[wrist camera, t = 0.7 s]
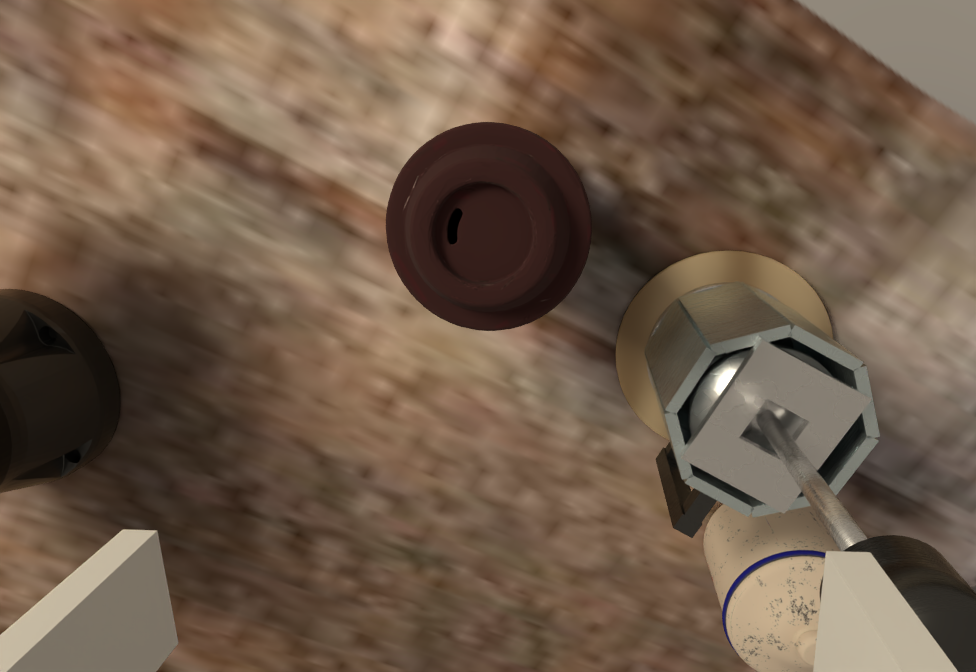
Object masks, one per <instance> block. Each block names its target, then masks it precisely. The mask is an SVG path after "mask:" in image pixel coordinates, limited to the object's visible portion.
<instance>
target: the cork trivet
mask: <svg viewBox="0 0 976 672" xmlns="http://www.w3.org/2000/svg"><path fill="white" fill-rule="evenodd" d="M736 281H739V282H740V283H741V282H744V283H746V284H748V285H750V286H754V287H757V288H759V289H761V290H763V291H765V292H767V293H769V294H770V295H772V296H773V297H775V298H776V299H777V300H779V301H780V302H781V303H783V304H784V305H786V306H788V307H790V308H792V309H794V310H795V311H796V312H798V313H799V314H800V315H802V316H803V317H804V318H806V319H807V320H808V321H810V322H811V323H812V324H814V325H815V326H816V327H818V328H819V329H820V330H822V331H823V332H824V333H826V334H827V335H828V336H830V337H831V338H832V339H833V334H832V328H831V324H830V320H829V317H828V314H827V312H826V310H825V307H824V305H823V303H822V302H821V300H820V298H819V297H818V295H817V294H816V292H815V291H814V290H813V289H812V287H811V286H810V285H809V284H808V283H807V282H806V281H805V280H804V279H803V278H802V277H801V276H799V275H798V274H797V273H796V272H794V271H793V270H791V269H790V268H788V267H787V266H785V265H783V264H781V263H779V262H777V261H775V260H773V259H771V258H769V257H766V256H762V255H759V254H756V253H751V252H746V251H736V250H721V251H711V252H706V253H701V254H697V255H694V256H691V257H688V258H685V259H682V260H680V261H678V262H676V263H674V264H672V265H670V266H669V267H667V268H665V269H664V270H662V271H661V272H659V273H658V274H657V275H656V276H654V277H653V278H652V279H651V280H649V281H648V282H647V283H646V284H645V286H644V287H643V288H642V289H641V290H640V291H639V292H638V293H637V295H636V296H635V298H634V299H633V300H632V302H631V303H630V305H629V307H628V309H627V311H626V312H625V314H624V317H623V319H622V322H621V325H620V327H619V332H618V336H617V341H616V352H615V353H616V367H617V373H618V378H619V382H620V385H621V388H622V391H623V393H624V395H625V397H626V399H627V401H628V403H629V405H630V406H631V408H632V409H633V410H634V412H635V413H636V415H637V416H638V417H639V418H640V419H641V420H642V421H643V422H644V423H645V424H646V425H647V426H648V427H649V428H651V429H652V430H653V431H654V432H656V433H657V434H659V435H660V436H662V437H663V438H665V439H667V440H669V437H668V434H667V431H666V428H665V425H664V421H663V418H662V415H661V412H660V409H659V406H658V402H657V399H656V395H655V391H654V389H653V387H652V384H651V382H650V379H649V376H648V371H647V366H646V358H645V354H644V352H645V349H644V348H645V346H646V345H647V343H648V339H649V336H650V333H651V331H652V328H653V327H654V325H655V323H656V321H657V319H658V318H659V317H660V315H661V314H662V313H663V311H664V310H665V309H666V308H667V307H668V306H669V305H670V304H671V303H673V302H674V300H676V299H677V298H678V297H681V296H682V295H684V294H685V293H687V292H689V291H691V290H693V289H695V288H698V287H701V286H704V285H708V284H713V283H722V282H736ZM669 441H670V440H669Z"/></svg>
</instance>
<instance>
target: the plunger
mask: <svg viewBox="0 0 976 672" xmlns="http://www.w3.org/2000/svg"><path fill="white" fill-rule="evenodd" d="M774 345H776V346H777V347H779V348H781V349H783V350H785V351H787V352H789V353H790V354H792V355H794V356H796V357H798V358H800V359H801V360H803V361H805V362H807V363H809V364H811V365H813V366H814V367H816V368H818V369H820V370H822V371H824V372H825V373H827V374H829V375H831V374H830V373H829V372H828V371H827V370H826V369H825V368H824V367H823V366H822V365H821V364H820V363H819V362H817V361H816V360H815V359H814V358H812V357H811V356H809V355H808V354H806V353H804V352H802V351H800V350H798V349H795V348H792V347H789V346H784V345H779V344H774ZM752 347H753V346H751V347H747V348H743V349H739V350H735V351H732V352H730V353H728V354H726V355H724V356H723V357H721V358H719V359H718V360H717V361H716V362H714V363H713V364H712V365H711V366H710V367H709V368H708V369H707V370H706V371H705V372H704V373H703V375H702V376H701V378H700V379H699V381H698V382H697V384H696V385H695V387H694V389H693V392H692V394H691V397H690V401H689V406H688V424H689V429H690V432H691V435H693V433H694V432H695V431H696V429H697V428H698V426H699V425H700V423H701V422H702V420H703V419H704V417H705V416H706V414H707V413H708V412H709V410H710V409H711V407H712V406H713V404H714V403H715V401H716V400H717V398H718V397H719V395H720V394H721V393H722V391H723V390H724V388H725V387H726V385H727V384H728V382H729V381H730V379H731V378H732V376H733V375H734V374H735V372H736V371H737V369H738V368H739V366H740V365H741V363H742V362H743V360H744V359H745V357H746V356H747V355H748V353H749V352H750V350H751V349H752ZM831 376H832V375H831ZM803 420H804V419H803V418H802V417H800V416H798V415H796V414H794V413H792V412H790V411H789V410H787V409H785V408H783V407H781V406H779V405H777V404H776V403H774V402H772V401H770V400H768V399H766V400H765V402H764V403H763V405H762V406H761V408H760V409H759V410H758V412H757V413H756V415H755V416H754V417H753V419H752V420H751V422H750V423H749V424H748V426H747V427H746V429H745V430H744V431H743V433H742V434H741V436H743V437H745V438H747V439H748V440H750V441H752V442H754V443H756V444H758V445H760V446H761V447H763V448H765V449H767V450H769V451H771V452H773V453H774V454H776V455H778V456H779V458H780V459H781V461H782V462H783V464H784V465H785V467H786V468H787V470H788V471H789V473H790V474H791V476H792V477H793V479H794V481H795V482H796V484H797V485H798V487H799V488H800V490H801V491H802V493H803V494H804V496H805V497H806V499H807V500H808V502H809V504H810V505H811V507H812V508H813V510H814V511H815V513H816V514H817V516H818V517H819V519H820V520H821V522H822V523H823V525H824V527H825V528H826V530H827V531H828V533H829V534H830V536H831V537H832V539H833V540H834V542H835V543H836V545H837V546H838V548H839V550H840V551H844V552H870V553H871V554H872V555H873V557H874V558H875V559H876V561H877V562H878V564H879V565H880V566H881V568H882V569H883V570H884V572H885V573H886V574H887V576H888V577H889V578H890V580H891V581H892V583H893V584H894V585H895V587H896V588H897V589H898V591H899V592H900V593H901V595H902V596H903V597H904V599H905V600H906V602H907V603H908V604H909V606H910V607H911V608H912V610H913V611H914V612H915V614H916V615H917V616H918V618H919V619H920V621H921V622H922V623H923V625H924V626H925V627H926V629H927V630H928V631H929V633H930V634H931V635H932V637H933V638H934V640H935V641H936V642H937V644H938V645H939V646H940V648H941V649H942V650H943V652H944V653H945V655H946V656H947V657H948V659H949V660H950V661H951V663H952V664H953V665H954V667H955V668H956V669H957V671H958V672H976V593H975V591H974V590H973V589H972V588H971V587H970V586H969V585H968V584H967V582H966V581H965V580H964V579H963V578H962V577H961V576H960V575H959V574H958V572H957V571H956V570H955V569H954V568H953V567H952V566H951V565H950V563H949V562H948V561H947V560H946V559H945V558H944V557H943V556H942V555H941V553H939V552H938V551H937V550H936V549H935V548H933V547H931V546H930V545H928V544H926V543H924V542H922V541H920V540H917V539H913V538H910V537H905V536H895V535H890V536H878V537H873V538H869V539H868V538H867V537H866V536H865V534H864V533H863V532H862V530H861V529H860V528H859V526H858V525H857V524H856V522H855V521H854V520H853V518H852V517H851V516H850V514H849V513H848V511H847V510H846V509H845V507H844V506H843V505H842V503H841V502H840V501H839V499H838V498H837V497H836V495H835V494H834V493H833V491H832V490H831V489H830V487H829V486H828V485H827V483H826V482H825V480H824V479H823V478H822V476H821V475H820V474H819V472H818V471H817V470H816V468H815V467H814V466H813V464H812V463H811V462H810V460H809V459H808V458H807V456H806V455H805V454H804V452H803V451H802V449H801V448H800V447H799V445H798V444H797V443H796V441H795V440H794V439H793V437H792V435H793V434H794V432H795V431H796V429H797V428H798V427H799V425H800V424H801V423H802V421H803ZM831 453H832V452H831ZM822 584H823V577H822V580H821V584H820V603H821V593H822Z"/></svg>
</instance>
